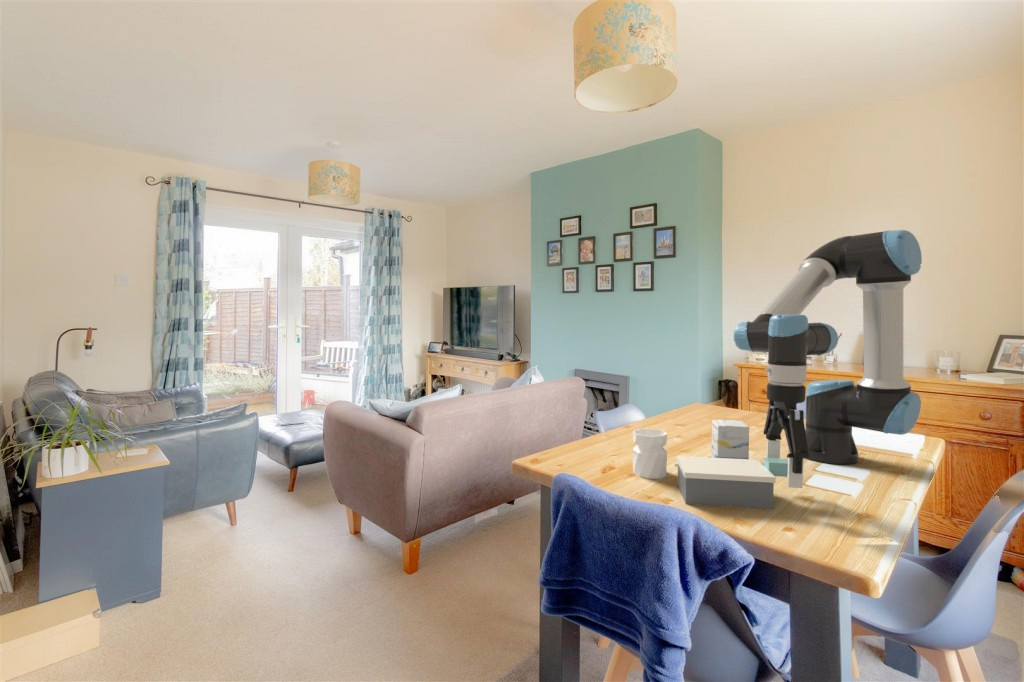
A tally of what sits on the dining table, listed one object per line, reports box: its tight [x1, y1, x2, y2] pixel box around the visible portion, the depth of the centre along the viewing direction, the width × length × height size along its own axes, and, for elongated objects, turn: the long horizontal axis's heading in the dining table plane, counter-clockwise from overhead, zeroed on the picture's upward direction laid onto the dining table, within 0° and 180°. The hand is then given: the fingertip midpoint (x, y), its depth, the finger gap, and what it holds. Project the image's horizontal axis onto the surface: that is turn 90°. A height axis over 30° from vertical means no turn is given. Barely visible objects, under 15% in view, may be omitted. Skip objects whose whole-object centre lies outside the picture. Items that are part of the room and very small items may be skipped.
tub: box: [677, 465, 775, 510], centre depth 111 cm, size 18×12×7 cm, turn 79°
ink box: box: [710, 419, 750, 459], centre depth 140 cm, size 8×8×12 cm
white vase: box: [632, 428, 668, 480], centre depth 128 cm, size 9×9×12 cm
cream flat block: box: [675, 455, 788, 484], centre depth 111 cm, size 24×13×4 cm, turn 79°
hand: (783, 476), depth 109 cm, fingers open, 13 cm apart
